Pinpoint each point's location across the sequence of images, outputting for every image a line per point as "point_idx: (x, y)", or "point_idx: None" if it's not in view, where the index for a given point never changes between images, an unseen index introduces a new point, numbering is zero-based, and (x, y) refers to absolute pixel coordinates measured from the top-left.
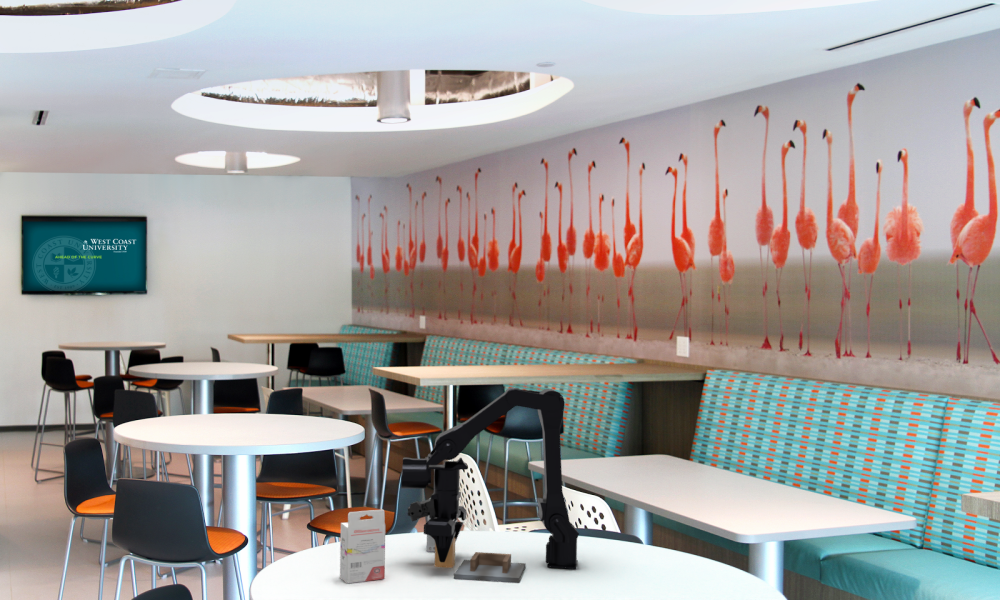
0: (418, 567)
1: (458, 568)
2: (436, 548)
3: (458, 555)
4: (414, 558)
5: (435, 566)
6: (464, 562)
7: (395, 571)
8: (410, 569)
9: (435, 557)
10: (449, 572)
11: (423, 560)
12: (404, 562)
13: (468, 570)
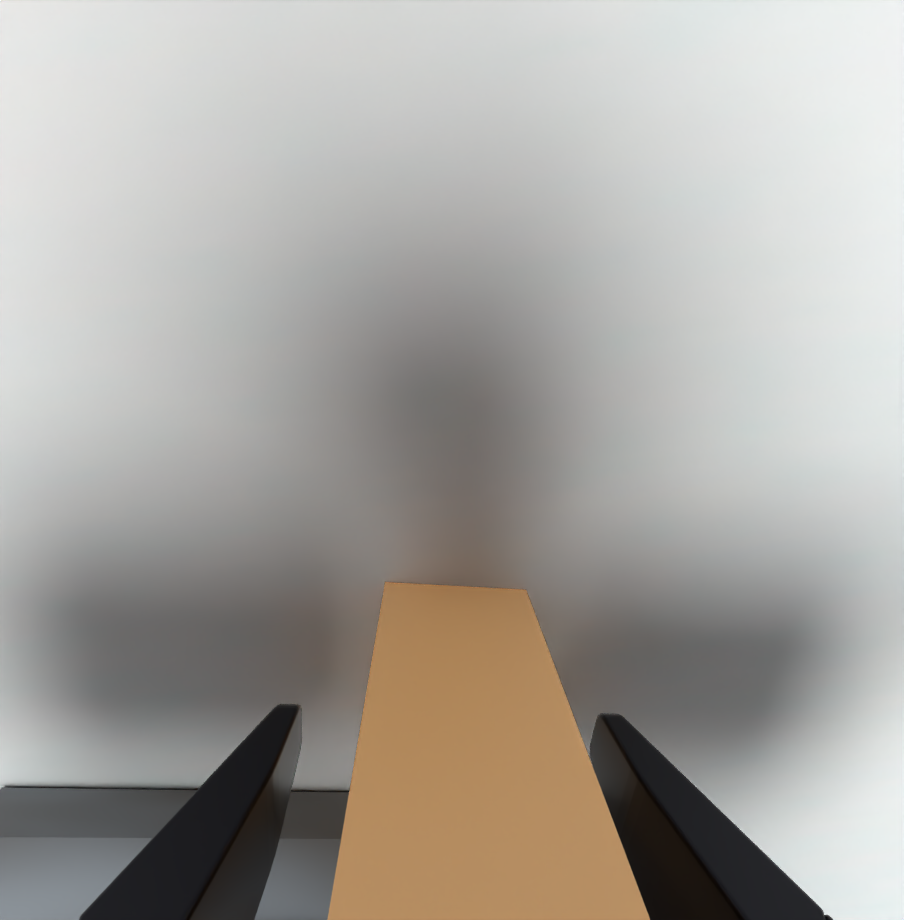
0: (323, 416)
1: None
2: (350, 803)
3: (814, 719)
4: (742, 304)
5: (383, 592)
6: None
7: (29, 112)
8: (205, 328)
9: (374, 662)
10: (211, 728)
11: (643, 430)
12: (541, 187)
13: None
